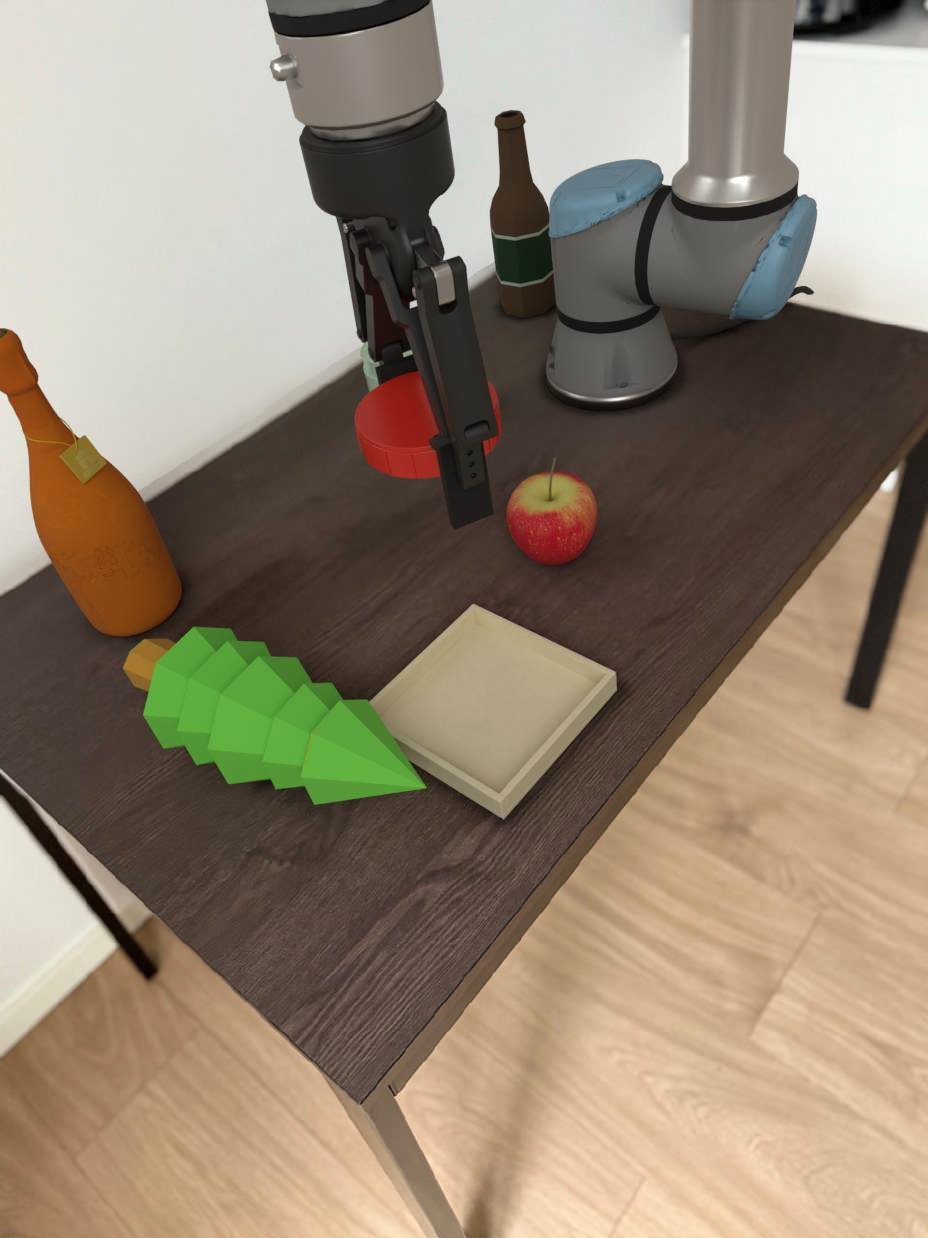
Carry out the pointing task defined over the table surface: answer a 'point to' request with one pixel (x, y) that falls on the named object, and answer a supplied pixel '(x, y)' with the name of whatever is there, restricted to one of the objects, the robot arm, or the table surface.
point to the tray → (491, 707)
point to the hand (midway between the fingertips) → (441, 480)
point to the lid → (404, 428)
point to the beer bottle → (520, 227)
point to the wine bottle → (88, 513)
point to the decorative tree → (265, 718)
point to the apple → (552, 516)
